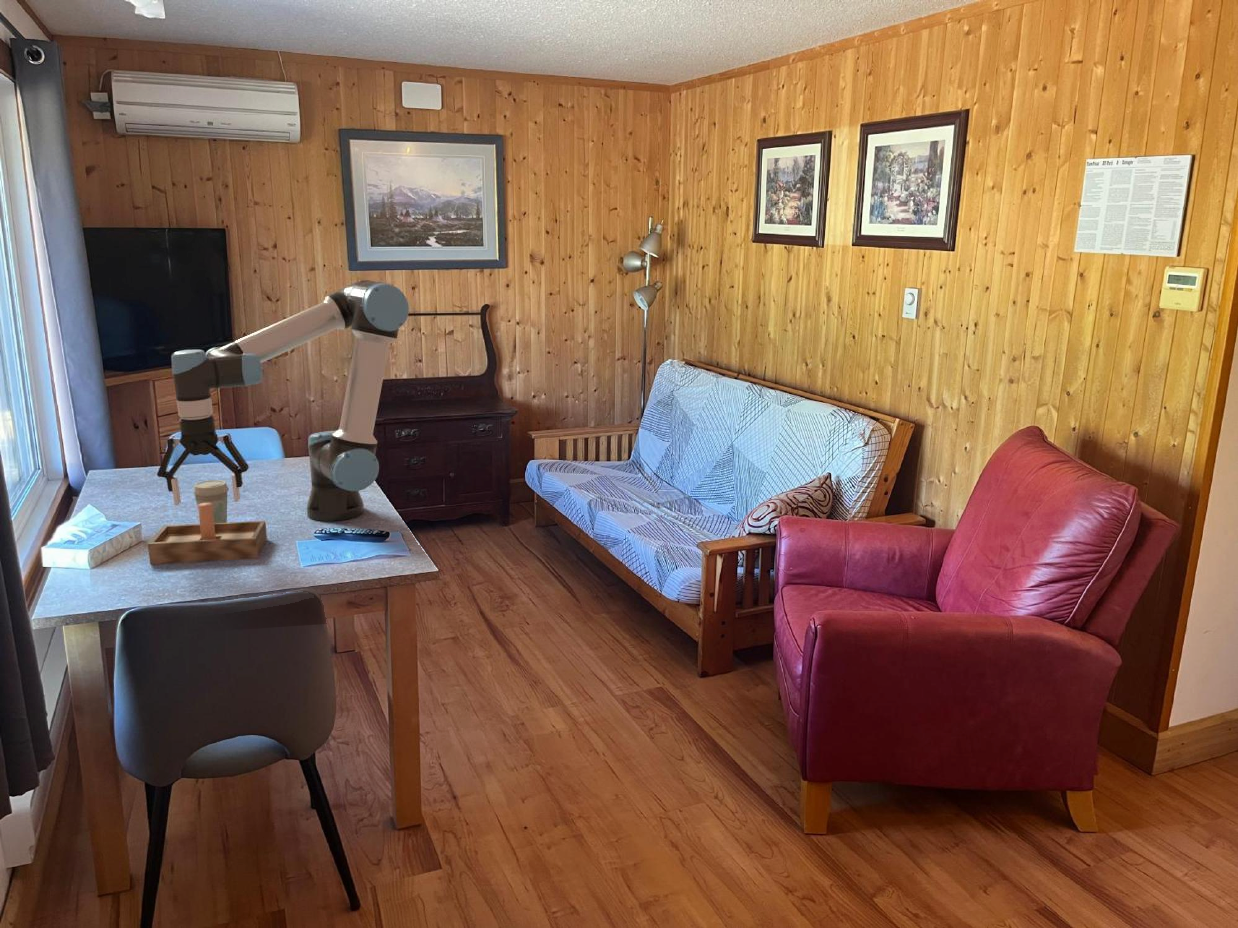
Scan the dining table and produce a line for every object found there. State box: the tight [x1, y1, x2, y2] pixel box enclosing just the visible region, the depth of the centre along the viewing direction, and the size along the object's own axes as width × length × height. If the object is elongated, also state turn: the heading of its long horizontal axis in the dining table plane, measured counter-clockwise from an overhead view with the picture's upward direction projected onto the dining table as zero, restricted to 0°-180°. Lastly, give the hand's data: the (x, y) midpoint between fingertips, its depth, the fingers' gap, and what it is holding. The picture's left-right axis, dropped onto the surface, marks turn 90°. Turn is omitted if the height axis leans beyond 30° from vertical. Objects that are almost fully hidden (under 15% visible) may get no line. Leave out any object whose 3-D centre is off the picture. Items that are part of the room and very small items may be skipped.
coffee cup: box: [192, 479, 229, 523], centre depth 249 cm, size 8×8×12 cm
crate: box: [147, 520, 268, 565], centre depth 232 cm, size 24×14×5 cm, turn 101°
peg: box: [197, 503, 216, 540], centre depth 231 cm, size 3×3×12 cm
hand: (207, 502), depth 230 cm, fingers open, 13 cm apart
